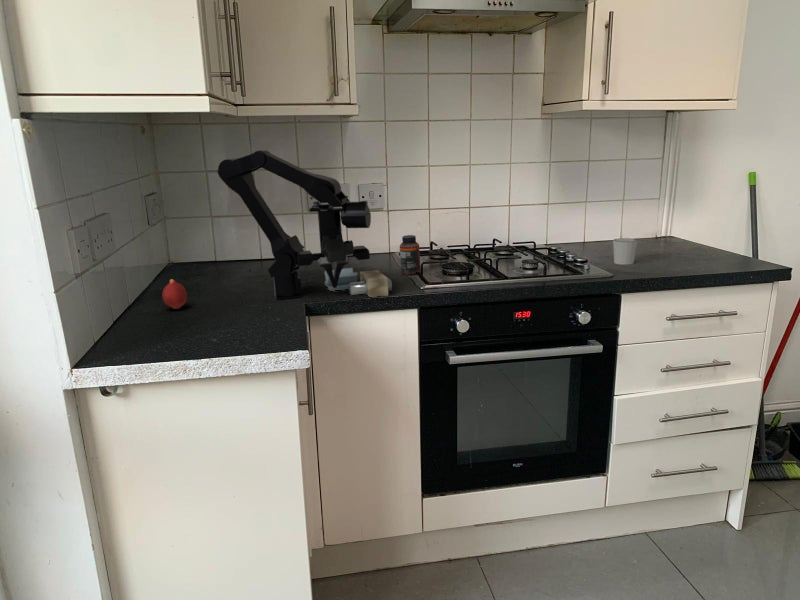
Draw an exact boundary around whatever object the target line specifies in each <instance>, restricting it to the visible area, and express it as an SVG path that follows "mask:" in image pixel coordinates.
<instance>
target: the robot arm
mask: <svg viewBox="0 0 800 600" xmlns="http://www.w3.org/2000/svg"><path fill="white" fill-rule="evenodd" d="M259 169H263V170H266V171H268V172H270V173H272V174H274V175H277V176H279V177H281V178H283V179H284V180H286V181H288V182H290V183H292V184H294V185H297V186H298V187H300V188H301V189H303V190H304V191H305V192H306V193H307V195H309V196H310V197H312V198H313V199H314V200H316V201H315V202H314V204H313V205H312V206H311V207H310V208H309V210H308V211H309V212H310V213H313V212H317V219H318V233H319V234H318V235H319V246H320V247H319V249H320V252H316V253H312V252H311V250H304V249H305V246H304V245H303V244H302V243H301V242H300V240H299V238H298V236H297V235H293V236H291V235H289V234H287V232H285V230H284V229H283V227H282V225H281V224H280V223H279V221H278V220H277V218H276V216H275V214H274V213H273V212H272V210H271V208H270V207H269V205H268V204H267V203H266V201H265V199H264V198H263V196H262V194H261V193H260V191H259V189H257V187H256V185H255V183H256V182H255V179H254V175H253V172H256V171H258V170H259ZM217 174H218V176H219V177H218V178H220V180H221V181H222V182H223V183H224V184H225V185H226V186H227V188H229V189H230V190H232V191H233V192H234V193H236V194H237V195H238V196H239V197H240V199H241V201H243V202H242V203H244V204H245V206H246V208H247V209H248V211H249V212H250V213H251V216H252V217H253V218H254V220H255V222H256V223H257V224H258V226H259V227H260V229H261V230H262V232H263V233H264V235H265V237H266V238H267V240H268V242H269V243H270V249H271V253H272V256H273V258H274V260H275V261H274V262H273V264H272V265H271V266H270V267H269V268H268V269H267V271H268V273H269V275H270V277H271V278H273V279H272V280H273V286H274V287H273V289H274V292H273V293H274V294H273V295H274V297H275V300H276V301H277V300H285V299H295V298H301V297H302V296H301V295H302V283H301V282H302V281H301V278H300V276H299V274H298V272H297V271H299V270H300V267H303V266H311V265H312V264H313V263H314V261H317V262H316V263H317V264H318V266H319V267H323V268H324V271H326V272H327V275H328V277H329V279H330V282H331V284H332V286H333V288H336V287H337V284H338V280H339V276H340V273H341V270H342V269H344V266H345V265H348V264H349V261H348V258H355V259H356V260H358V261H360V260H361V261H362V260H364V261H365V260H369V259H371V257H370V256H371V254H370V249H368V248H367V247H366V246H365V245H355V246H354V243H353V240H352V239H351V240H344V239H343V232H342V231H343V230H342V226H345V228H346V229H369V228H370V227H371V223H372V221H371V220H372V215H371V212H370V208H369V205H368V201H367V200H360V201H350V200H349V198H348V197H347V196H346V195H345V193H344V192H343V191H342V187H341V184H340V182H339V180H337V179H336V178H333V177H330V176H326V175H323V174H318V173H314V172H310V171H308V170H305V169H303V168H301V167H299V166H297V165H295V164H293V163H291V162H289V161H286V160H285V159H283V158H281V157H279V156H276V155H274V154H273V153H271V152H270V151H268V150H266V149H264V150H256V151H254V152H253V153H251V154H248V155H245V156H242V157H239V158H230V159H229V158H228V159H224V160H221V162H220V163H219V165H218V168H217ZM332 263H333V264H332ZM332 270H334V276H333V271H332Z"/></svg>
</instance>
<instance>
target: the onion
mask: <svg viewBox="0 0 800 600" xmlns="http://www.w3.org/2000/svg"><path fill="white" fill-rule="evenodd" d="M168 281H169V282H168V283H167V284H166V286H165V287H164V288H163V290H162V294H161V295H162V301H163V302H164V304H165V305H167V306H168V307H170V308H172V309H173V310H174V309H178V310H179V309H180V308H182V307H183V306H184V305H185V303H186V302H187V299H188V297H187V296H188V295H187V294H188V293H187V290H186V288H185V287H184V286H183V285H182V284H181V283H179V282H177V281H175V280H174V279H170V280H168Z"/></svg>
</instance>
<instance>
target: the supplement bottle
mask: <svg viewBox="0 0 800 600" xmlns="http://www.w3.org/2000/svg"><path fill="white" fill-rule="evenodd" d="M416 237H417V236H416V235H414V234H407V235H403V236H402V237H401V239H402V240H401V241H402V243H400V245H399V260H400V261H399V262H400V273H401V274H402V275H405V276H412V275H411V274H414V273H416V272H420V273H421V253H420V252H421V251H420V243H418V242H417V241H416V239H417V238H416Z"/></svg>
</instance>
